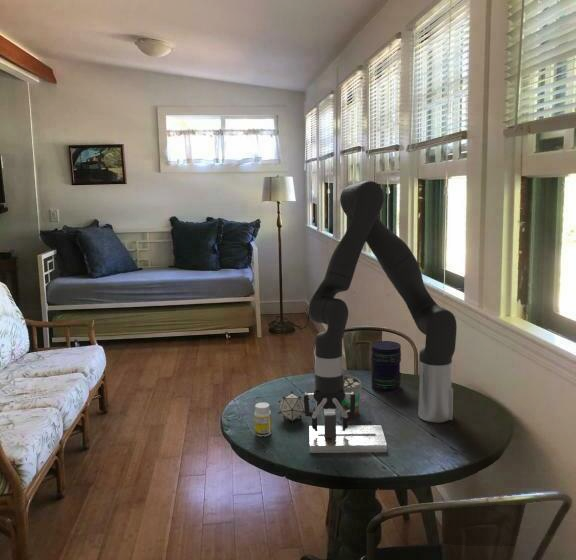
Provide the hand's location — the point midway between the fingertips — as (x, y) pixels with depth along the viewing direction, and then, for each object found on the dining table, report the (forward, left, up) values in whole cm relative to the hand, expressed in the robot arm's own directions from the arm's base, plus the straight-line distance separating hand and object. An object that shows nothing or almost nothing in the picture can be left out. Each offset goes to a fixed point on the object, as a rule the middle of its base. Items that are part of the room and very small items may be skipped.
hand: (329, 429), depth 156 cm
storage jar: (-21, -40, -4) cm, 45 cm away
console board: (-5, 0, -4) cm, 6 cm away
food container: (-8, -19, -4) cm, 21 cm away
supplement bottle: (+18, -6, -4) cm, 20 cm away
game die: (+10, -15, -4) cm, 19 cm away
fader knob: (0, 0, -1) cm, 1 cm away
